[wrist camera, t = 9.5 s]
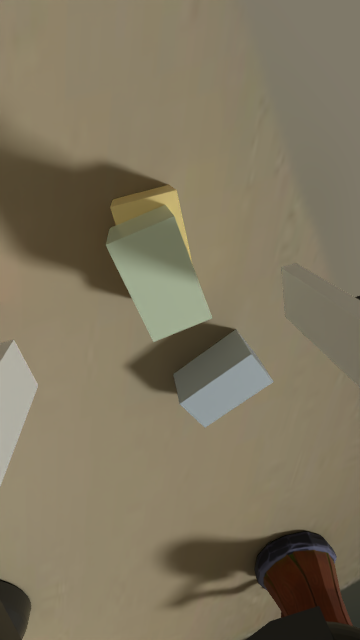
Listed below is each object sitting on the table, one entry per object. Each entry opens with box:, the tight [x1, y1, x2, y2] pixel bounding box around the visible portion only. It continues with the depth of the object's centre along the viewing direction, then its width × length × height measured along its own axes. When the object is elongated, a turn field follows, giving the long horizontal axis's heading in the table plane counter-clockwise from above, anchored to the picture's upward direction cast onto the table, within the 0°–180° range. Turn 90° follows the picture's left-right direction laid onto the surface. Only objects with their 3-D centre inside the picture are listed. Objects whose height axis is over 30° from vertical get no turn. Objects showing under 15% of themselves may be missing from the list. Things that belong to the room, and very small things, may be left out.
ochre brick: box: [110, 185, 193, 265], centre depth 23 cm, size 8×4×4 cm, turn 13°
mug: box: [255, 531, 353, 626], centre depth 42 cm, size 18×12×15 cm, turn 167°
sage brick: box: [106, 205, 212, 342], centre depth 19 cm, size 6×4×4 cm, turn 21°
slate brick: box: [173, 329, 273, 427], centre depth 28 cm, size 7×4×4 cm, turn 127°
